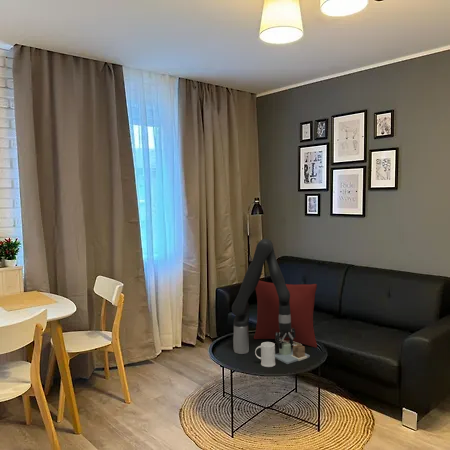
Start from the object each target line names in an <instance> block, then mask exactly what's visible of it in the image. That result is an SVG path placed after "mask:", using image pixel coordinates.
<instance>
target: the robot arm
mask: <svg viewBox="0 0 450 450" xmlns="http://www.w3.org/2000/svg"><path fill="white" fill-rule="evenodd" d="M265 262H266V264H267V268H268V273H269V276H270V278H271V281H272V283H273V284H274V286H275V288H276V291H277V294H278V298H279V329H280V331H279V332H276V333H275V339H274V340H275V343H277V347H278V349H279V348H280V349H282V343H283V341H285V340H284V338H286V337H289V338H290V339H289V342H288V343H289V344H291V347H293V346H294V342H293V338H295V337H296V336H295V329H294V328H291V313H290V292H289V290H288V289H287V286H286V284H287V283H286V281H285V278H284V275H283V273H282V271H281V268H280V266H279V264H278V260H277V257H276V254H275V249H274V246H273V242H272V241H271V239H269V238H262V239H260V240H259V241H258V242H257V244H256V246H255V251H254V254H253V257H252V260H251V262H250V264H249V266H248V268H247V270H246V272H245V274H244V277H243V280H242V283H241V285H240V288H239V291H238V293H237V296H236V298H235V299H234V301H233V303H232V305H231V312H232V314H233V315H234V316H235V317H234V319H233V335H232V339H233V340H232V342H233V343H232V344H233V347H232V348H233V351H234V353H235V354H239V355H243V354H244V355H245V354H248V353H249V351H250V350H249V349H250V348H249V347H250V346H249V345H250V343H249V342H250V341H249V340H250V339H249V336H250V335H249V321H250V303H249V299H250V297H251V295H253V293H254V292H255V291H256V289H255V288H256V286H257V284H258V282H259V280H260V281H261V277H262V272H263V267H264V264H265ZM290 333H291V334H290ZM281 337H282V338H281ZM280 339H281V340H280Z"/></svg>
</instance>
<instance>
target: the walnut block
mask: <svg viewBox="0 0 450 450" xmlns="http://www.w3.org/2000/svg"><path fill="white" fill-rule="evenodd" d="M292 349H293V356H295V357H297V358H301V357H304V356H305V353H306V346H304V345H302V344H301V343H299V344H298V343H297V344H295V345H292Z"/></svg>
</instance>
